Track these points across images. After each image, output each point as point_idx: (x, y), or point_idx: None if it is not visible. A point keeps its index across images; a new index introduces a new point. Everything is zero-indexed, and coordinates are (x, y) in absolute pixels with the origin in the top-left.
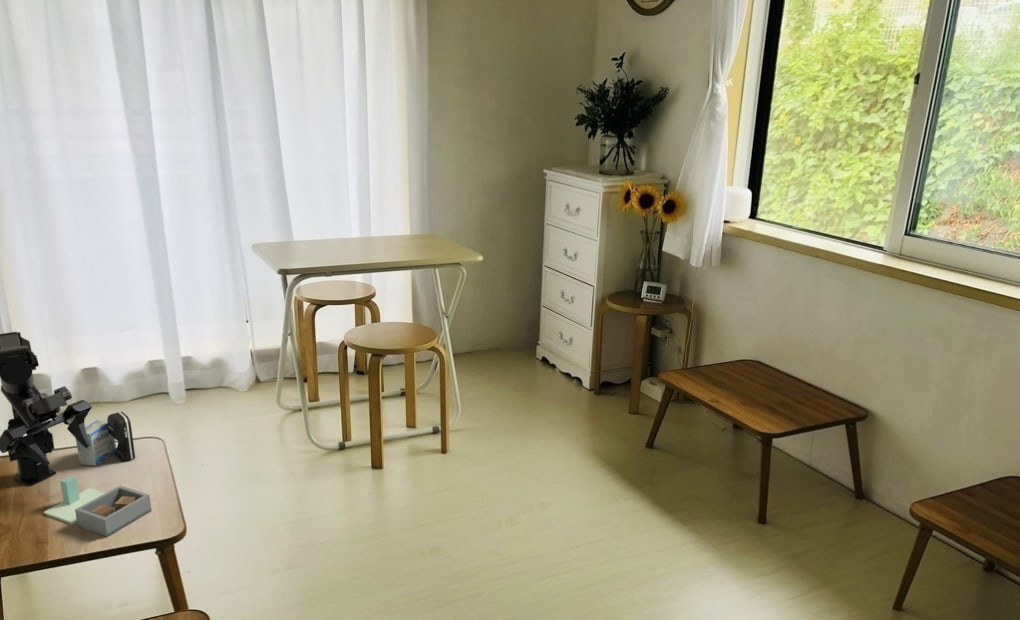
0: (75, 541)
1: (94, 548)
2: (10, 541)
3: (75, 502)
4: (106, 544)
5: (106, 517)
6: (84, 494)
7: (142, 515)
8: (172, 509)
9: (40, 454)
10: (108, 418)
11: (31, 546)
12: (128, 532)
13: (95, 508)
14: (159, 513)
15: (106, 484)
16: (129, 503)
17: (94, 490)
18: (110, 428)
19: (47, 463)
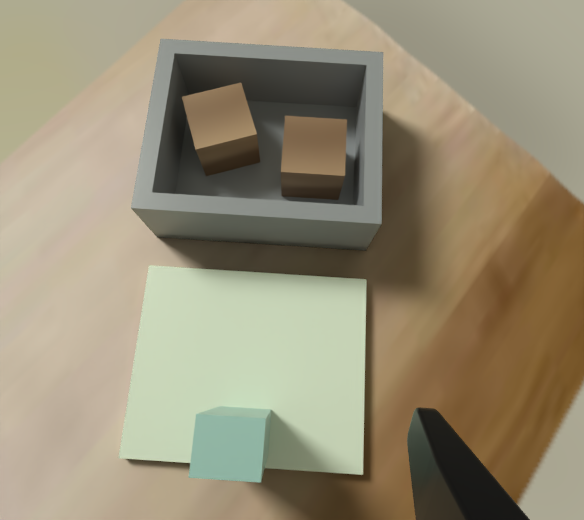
0: (437, 177)
1: (434, 91)
2: (561, 407)
3: (245, 404)
4: (400, 75)
5: (366, 60)
6: (175, 427)
7: None
8: (147, 37)
9: (507, 517)
10: None
11: (537, 295)
12: None
13: (319, 174)
14: None
15: (53, 426)
16: (229, 87)
17: (129, 413)
18: None
19: (437, 417)
